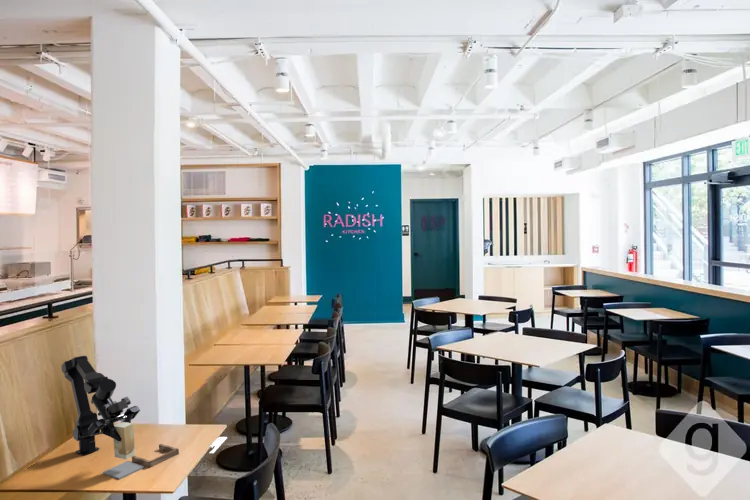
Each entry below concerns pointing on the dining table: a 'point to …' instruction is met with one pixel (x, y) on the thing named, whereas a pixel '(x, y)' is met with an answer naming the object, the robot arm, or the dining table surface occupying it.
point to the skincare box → (124, 440)
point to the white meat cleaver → (217, 444)
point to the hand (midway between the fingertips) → (126, 438)
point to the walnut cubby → (147, 463)
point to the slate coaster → (123, 470)
